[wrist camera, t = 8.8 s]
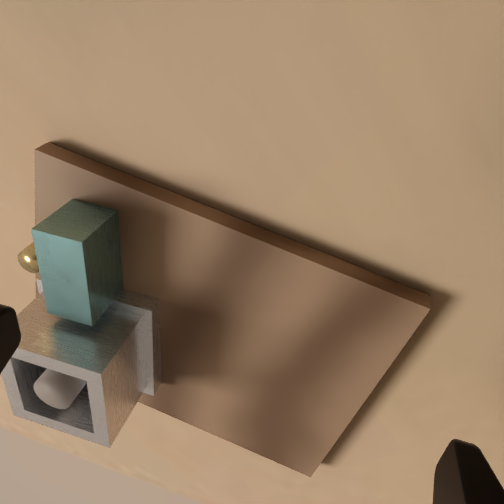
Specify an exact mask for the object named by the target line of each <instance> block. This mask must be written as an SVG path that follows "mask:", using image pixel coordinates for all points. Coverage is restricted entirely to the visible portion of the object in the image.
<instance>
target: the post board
mask: <svg viewBox="0 0 504 504" xmlns="http://www.w3.org/2000/svg"><path fill="white" fill-rule="evenodd" d="M71 199H76V200H80V201H84V202H88V203H92V204H97V205H101V206H105V207H109V208H113V209H117V210H118V212H119V227H120V242H121V257H122V272H123V287H124V289H125V290H129V291H132V292H136V293H139V294H143V295H147V296H150V297H154V298H157V299H160V300H161V384H160V386H159V388H158V390H157V391H156V393H155V395H154V396H152V395H149V394H146V393H142V395H141V397H140V398H139V400H138V402H140V403H142V404H145V405H147V406H149V407H152V408H154V409H156V410H158V411H161V412H163V413H165V414H168V415H170V416H172V417H174V418H177V419H179V420H181V421H184V422H186V423H188V424H190V425H193V426H195V427H197V428H200V429H202V430H204V431H206V432H209V433H211V434H213V435H216V436H218V437H220V438H222V439H225V440H227V441H229V442H232V443H234V444H236V445H238V446H241V447H243V448H245V449H248V450H250V451H252V452H254V453H257V454H259V455H261V456H264V457H266V458H268V459H270V460H273V461H275V462H277V463H280V464H282V465H284V466H286V467H289V468H291V469H293V470H296V471H298V472H300V473H302V474H305V475H307V476H309V477H311V476H312V474H313V473H314V472H315V470H316V469H317V467H318V466H319V465H320V463H321V462H322V460H323V459H324V458H325V456H326V455H327V453H328V452H329V451H330V449H331V448H332V446H333V445H334V444H335V442H336V441H337V439H338V438H339V437H340V435H341V434H342V432H343V431H344V430H345V428H346V427H347V425H348V424H349V423H350V421H351V420H352V418H353V417H354V416H355V414H356V413H357V411H358V410H359V409H360V407H361V406H362V404H363V403H364V402H365V400H366V399H367V397H368V396H369V395H370V393H371V392H372V390H373V389H374V388H375V386H376V385H377V383H378V382H379V381H380V379H381V378H382V376H383V375H384V374H385V372H386V371H387V369H388V368H389V367H390V365H391V364H392V362H393V361H394V360H395V358H396V357H397V355H398V354H399V353H400V351H401V350H402V348H403V347H404V346H405V344H406V343H407V341H408V340H409V339H410V337H411V336H412V334H413V333H414V332H415V330H416V329H417V327H418V326H419V325H420V323H421V322H422V320H423V319H424V318H425V316H426V315H427V313H428V312H429V311H430V295H428V294H425V293H423V292H420V291H418V290H415V289H413V288H410V287H408V286H405V285H403V284H400V283H398V282H395V281H393V280H390V279H388V278H385V277H383V276H380V275H378V274H375V273H373V272H370V271H368V270H365V269H363V268H360V267H358V266H355V265H353V264H350V263H348V262H345V261H343V260H341V259H338V258H336V257H333V256H331V255H328V254H326V253H323V252H321V251H318V250H316V249H313V248H311V247H308V246H306V245H303V244H301V243H298V242H296V241H293V240H291V239H288V238H286V237H283V236H281V235H278V234H276V233H273V232H271V231H268V230H266V229H263V228H261V227H258V226H256V225H253V224H251V223H248V222H246V221H243V220H241V219H238V218H236V217H233V216H231V215H229V214H226V213H224V212H221V211H219V210H216V209H214V208H211V207H209V206H206V205H204V204H201V203H199V202H196V201H194V200H191V199H189V198H186V197H184V196H181V195H179V194H176V193H174V192H171V191H169V190H166V189H164V188H161V187H159V186H156V185H154V184H151V183H149V182H146V181H144V180H141V179H139V178H136V177H134V176H131V175H129V174H126V173H124V172H122V171H119V170H117V169H114V168H112V167H109V166H107V165H104V164H102V163H99V162H97V161H94V160H92V159H89V158H87V157H84V156H82V155H79V154H77V153H74V152H72V151H69V150H67V149H64V148H62V147H59V146H57V145H54V144H52V143H49V142H48V143H46V144H44V145H42V146H40V147H38V148H37V149H35V226H36V225H37V224H39V223H40V222H42V221H43V220H44V219H46V218H47V217H48V216H50V215H51V214H52V213H54V212H55V211H56V210H58V209H59V208H60V207H62V206H63V205H65V204H66V203H67V202H69V201H70V200H71ZM39 276H40V272H38V273H36V278H38V277H39ZM38 295H39V290H38V286H37V281H36V297H37V296H38ZM86 383H87V381H85V380H82V379H79V378H76V377H73V376H69V375H66V374H63V373H60V372H57V371H54V370H51V369H46V370H45V371H44V372H43V374H42V375H41V376H40V377H39V378H38V379H37V381H36V382H35V383H34V391H35V393H36V394H37V396H38V397H39V398H40V399H41V400H42V401H43V402H45V403H46V404H48V405H49V406H51V407H54V408H57V409H66V408H68V407H69V406H70V405H71V403H72V402H73V401H74V399H75V398H76V397H77V395H78V394H79V393H80V391H81V390H82V389H83V387H84V386H85V385H86Z"/></svg>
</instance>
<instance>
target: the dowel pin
mask: <svg viewBox="0 0 504 504" xmlns="http://www.w3.org/2000/svg"><path fill="white" fill-rule="evenodd" d="M18 261H19V263H20V265H21V266H22V267H23V268H24V269H25V270H27V271H29V272H31V273H38V272H39V267H38V261H37V256H36V251H35V246H34V242H33V243H32V244H30V245H29V246H28V247H26V248H25V249H24V250H22V251H21V252H20V253H19V254H18Z"/></svg>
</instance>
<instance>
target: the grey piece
mask: <svg viewBox="0 0 504 504" xmlns="http://www.w3.org/2000/svg"><path fill="white" fill-rule="evenodd" d="M31 230H32V236H33V241H34V246H35V251H36V256H37V261H38V267H39V272H40V276H39V277H38V278H36V281H37V286H38V290H39V295H38V296H37V297H36V298H35V299H34V300H33V301H32V302H31V303H30V304H29V305H28V306H27V307H26V308H25V309H23V310H22V311H21V312H20V313H19V314H18V315H17V320H18V324H19V328H20V332H21V341H20V344H19V346H18V348H17V349H16V351H15V352H14V354H13V355H12V357H11V358H10V360H9V362H8V363H7V365H6V366H5V368H4V369H3V371H2V372H1V374H2V378H3V381H4V384H5V388H6V391H7V394H8V398H9V401H10V404H11V408H12V411H13V414H14V415H15V416H18V417H21V418H24V419H27V420H30V421H33V422H36V423H38V424H41V425H44V426H47V427H50V428H53V429H56V430H59V431H62V432H65V433H68V434H71V435H74V436H77V437H80V438H82V439H85V440H88V441H91V442H94V443H97V444H100V445H103V446H106V447H109V448H110V447H111V445H112V443H113V442H114V440H115V438H116V437H117V435H118V433H119V432H120V430H121V428H122V427H123V425H124V423H125V422H126V420H127V418H128V417H129V415H130V413H131V412H132V410H133V408H134V407H135V405H136V403H137V402H138V400H139V398H140V397H141V395H142V393H146V394H149V395H152V396H154V395H155V393H156V391H157V390H158V388H159V386H160V384H161V300H160V299H157V298H154V297H150V296H147V295H143V294H139V293H136V292H132V291H129V290H125V289H124V287H123V272H122V257H121V242H120V227H119V212H118V210H117V209H113V208H109V207H105V206H101V205H97V204H92V203H88V202H84V201H80V200H76V199H71V200H70V201H69V202H67V203H66V204H65V205H63V206H62V207H60V208H59V209H58V210H56V211H55V212H54V213H52V214H51V215H50V216H48V217H47V218H46V219H44V220H43V221H42V222H40V223H39V224H37V225H36V226H35V227H33V228H32V229H31ZM46 369H51V370H54V371H57V372H60V373H63V374H66V375H69V376H73V377H76V378H79V379H82V380H85V381H87V383H86V385H85V386H84V387H83V389H82V390H81V391H80V393H79V394H78V395H77V397H76V398H75V399H74V401H73V402H72V403H71V405H70V406H69V407H68V408H66V409H57V408H54V407H51V406H49V405H48V404H46V403H45V402H43V401H42V400H41V399H40V398H39V397H38V396H37V394H36V393H35V391H34V383H35V382H36V381H37V379H38V378H39V377H40V376H41V375H42V374H43V372H44V371H45V370H46Z"/></svg>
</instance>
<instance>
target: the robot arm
mask: <svg viewBox="0 0 504 504" xmlns="http://www.w3.org/2000/svg"><path fill="white" fill-rule="evenodd" d="M20 341H21V332H20V328H19V324H18V320H17V316H16V312H15V310H14V309H13V308H11V307H8V306H5V305H2V304H0V374H1V372H2V371H3V369H4V368H5V366H6V365H7V363H8V362H9V360H10V358H11V357H12V355H13V354H14V352H15V351H16V349H17V348H18V346H19V344H20ZM433 504H504V489H503V487H502V486H501V484H500V482H499V481H498V479H497V477H496V476H495V474H494V472H493V470H492V469H491V467H490V465H489V464H488V462H487V460H486V459H485V457H484V455H483V454H482V452H481V450H480V449H479V448H478V447H477V446H476V445H474V444H472V443H468V442H465V441H462V440H458V439H453V440H452V441H451V442H450V443H449V445H448V446H447V448H446V450H445V451H444V453H443V455H442V457H441V458H440V460H439V462H438V464H437V466H436V470H435V477H434V492H433Z"/></svg>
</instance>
